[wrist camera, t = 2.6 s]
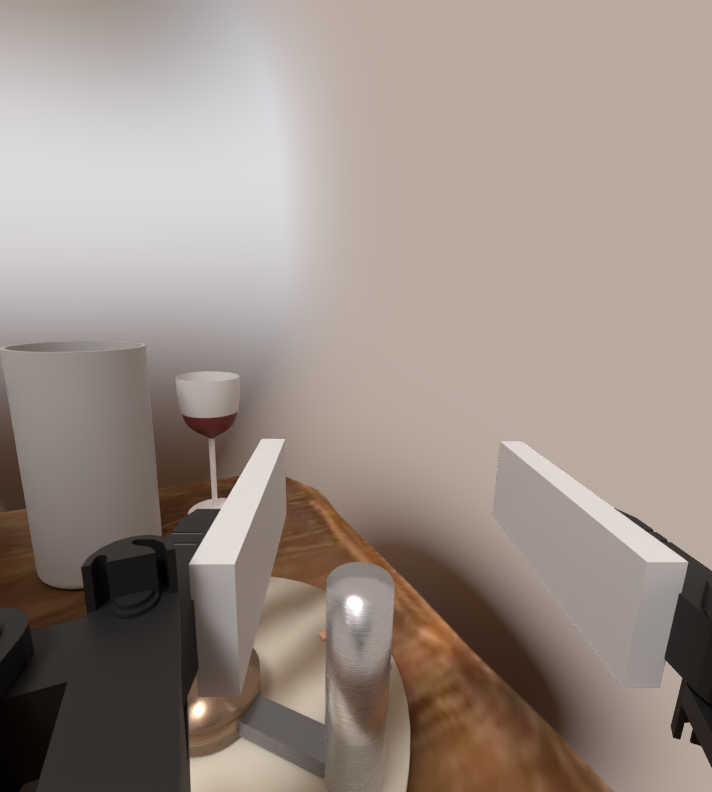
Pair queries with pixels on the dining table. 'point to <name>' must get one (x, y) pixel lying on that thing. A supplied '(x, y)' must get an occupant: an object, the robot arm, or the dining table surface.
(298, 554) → the dining table surface
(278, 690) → the dial stand
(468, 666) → the dining table surface
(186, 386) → the wineglass
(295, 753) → the bronze knob lever
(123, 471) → the cylinder vase
